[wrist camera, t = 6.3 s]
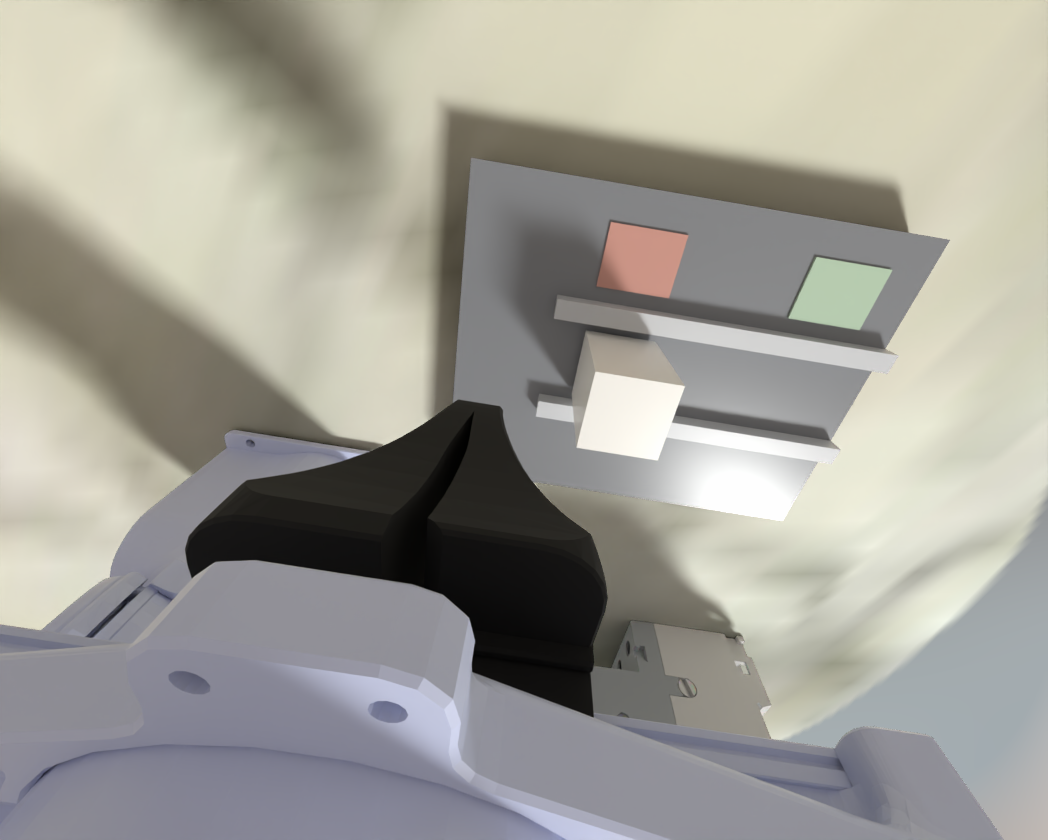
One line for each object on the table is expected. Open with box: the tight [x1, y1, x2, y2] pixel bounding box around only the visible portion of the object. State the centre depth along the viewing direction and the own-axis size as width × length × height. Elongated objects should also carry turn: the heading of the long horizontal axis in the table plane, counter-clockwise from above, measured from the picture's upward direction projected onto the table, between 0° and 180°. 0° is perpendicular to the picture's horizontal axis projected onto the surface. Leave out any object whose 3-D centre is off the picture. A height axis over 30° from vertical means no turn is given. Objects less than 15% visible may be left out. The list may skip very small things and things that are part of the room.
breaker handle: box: [572, 330, 685, 461], centre depth 17 cm, size 3×3×5 cm
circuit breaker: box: [591, 620, 771, 739], centre depth 25 cm, size 8×14×15 cm, turn 82°
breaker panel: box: [453, 158, 950, 521], centre depth 19 cm, size 18×14×3 cm
